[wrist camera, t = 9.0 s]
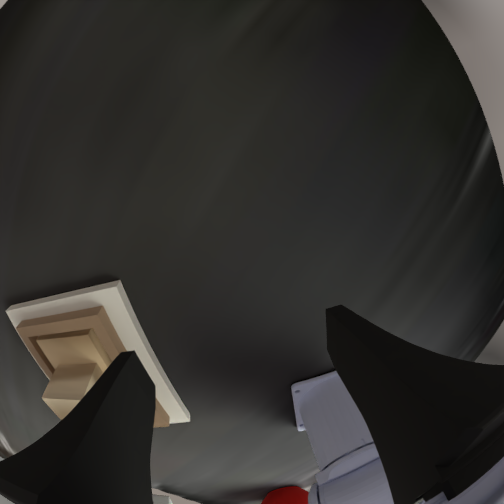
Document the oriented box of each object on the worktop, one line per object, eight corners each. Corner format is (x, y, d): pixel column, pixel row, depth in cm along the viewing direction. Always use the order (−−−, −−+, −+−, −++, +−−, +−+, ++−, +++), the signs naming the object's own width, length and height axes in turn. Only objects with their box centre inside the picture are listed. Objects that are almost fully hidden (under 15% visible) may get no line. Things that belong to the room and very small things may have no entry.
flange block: (41, 332, 17) (16, 371, 12) (92, 325, 18) (69, 372, 13) (94, 407, 21) (83, 446, 16) (143, 406, 21) (137, 450, 17)
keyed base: (190, 414, 24) (190, 430, 22) (89, 418, 23) (85, 431, 21) (120, 279, 18) (111, 295, 16) (10, 305, 17) (-1, 318, 15)
